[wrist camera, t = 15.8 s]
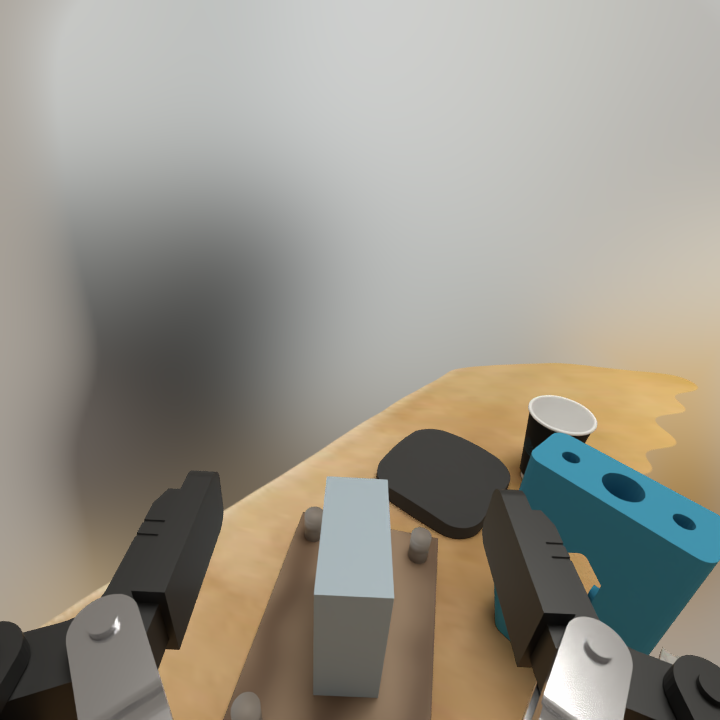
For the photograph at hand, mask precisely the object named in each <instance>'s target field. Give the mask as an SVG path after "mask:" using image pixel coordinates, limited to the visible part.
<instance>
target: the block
mask: <svg viewBox="0 0 720 720" xmlns="http://www.w3.org/2000/svg"><path fill="white" fill-rule="evenodd" d="M519 490H521V491H523V492H524V494H525V495H526V498H527V500H528V502H529V505H530V507H531V509H532V510H541V511H542V512H543V513H544V514H545V515H546V516H547V517H548V518H549V519H550V520H551V522H552V523H553V524H554V525H555V526H556V528H557V530H558V533H559V535H560V537H561V539H562V541H563V546H565V548H566V550H567V552H568V553H581V554H583V555H584V556H585V557H586V558H587V559H588V561H589V563H590V565H591V567H592V569H593V571H594V573H595V575H596V577H597V579H598V581H599V583H600V585H601V587H600V589H599V588H598V587H596V586H595V585H594V586H593V587H592V588H591V590H590V591H589V593H588V597H589V599H590V601H591V604H592V606H593V608H594V610H595V612H596V614H597V616H598V618H599V620H600V621H601V622H603V623H605V624H606V625H607V626H609V627H610V628H611V629H613V630H614V631H615V632H616V633H617V634H618V635H619V636H620V637H621V639H622V640H623V641H624V643H625V644H626V646H628V647H630V648H632V649H634V650H636V651H638V652H641V653H644V654H646V655H649V654H650V653H651V651H652V650H653V649H654V647H655V646H656V645H657V643H658V642H659V640H660V639H661V638H662V637H663V635H664V634H665V632H666V631H667V630H668V629H669V627H670V626H671V624H672V623H673V622H674V621H675V619H676V618H677V616H678V615H679V614H680V612H681V611H682V610H683V608H684V607H685V606H686V604H687V603H688V602H689V600H690V599H691V598H692V596H693V595H694V594H695V592H696V591H697V589H698V588H699V587H700V586H701V584H702V583H703V582H704V580H705V579H706V578H707V576H708V575H709V573H710V572H711V571H712V570H713V568H714V567H715V566H716V564H717V563H718V562H719V560H720V516H719V515H717V514H716V513H714V512H712V511H710V510H708V509H706V508H704V507H702V506H701V505H699V504H697V503H695V502H693V501H691V500H689V499H687V498H686V497H684V496H682V495H680V494H678V493H676V492H674V491H673V490H671V489H669V488H667V487H665V486H663V485H661V484H659V483H658V482H656V481H654V480H652V479H650V478H648V477H646V476H645V475H643V474H641V473H639V472H637V471H635V470H633V469H632V468H630V467H628V466H626V465H624V464H622V463H620V462H619V461H617V460H615V459H613V458H611V457H609V456H607V455H605V454H604V453H602V452H600V451H598V450H596V449H594V448H592V447H591V446H589V445H587V444H585V443H583V442H581V441H579V440H577V439H576V438H574V437H572V436H570V435H568V434H565V433H554V434H552V435H551V436H550V437H548V438H547V439H546V440H545V441H544V442H542V443H541V444H540V445H539V446H537V447H536V448H535V449H534V450H533V451H532V453H531V456H530V459H529V462H528V465H527V468H526V471H525V474H524V477H523V480H522V483H521V486H520V489H519ZM494 594H495V624H496V627H497V629H498V630H499V631H500V632H501V633H502V634H503V635H504V636H505V637H506V638H507V639H508V640H509V641H510V638H509V635H508V631H507V627H506V624H505V620H504V617H503V613H502V609H501V606H500V602H499V599H498V595H497V591H496V588H495V584H494Z"/></svg>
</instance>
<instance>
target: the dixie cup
mask: <svg viewBox="0 0 720 720" xmlns="http://www.w3.org/2000/svg"><path fill="white" fill-rule="evenodd" d="M528 409H529V418H528V424H527V429H526V435H525V441H524V447H523V453H522V458H521V464H520V469H521V477H522V479H523V477H524V474H525V471H526V468H527V465H528V462H529V459H530V456H531V453H532V451H533V450H534V449H535V448H536V447H537V446H539V445H540V444H541V443H542V442H544V441H545V440H546V439H547V438H548V437H550V436H551V435H552V434H554V433H565V434H568V435H570V436H572V437H574V438H576V439H577V440H579V441H581V442H583V443H585V442H586V440H587V438H588V437H589V435H590V433H592V432H594V431H595V429H596V428H597V420H596V418H595V416H594V415H593V414H592V413H591V412H590V411H589V410H588V409H587V408H586V407H584V406H583V405H581V404H579V403H577V402H575V401H573V400H570V399H567V398H564V397H560V396H553V395H544V396H538V397H536V398H534V399H532V400H531V401H530V403H529V406H528Z"/></svg>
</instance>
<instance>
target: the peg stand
mask: <svg viewBox="0 0 720 720" xmlns="http://www.w3.org/2000/svg"><path fill="white" fill-rule="evenodd" d="M322 516H323V510H322V509H321V508H319V507H311V508H309V509H307V510H306V512H303V514H302V516H301V519H300V522H299V524H298V527H297V529H296V532H295V535H294V537H293V540H292V542H291V545H290V548H289V550H288V553H287V555H286V558H285V560H284V563H283V566H282V568H281V571H280V573H279V576H278V579H277V581H276V584H275V586H274V589H273V592H272V594H271V597H270V599H269V602H268V605H267V607H266V610H265V612H264V615H263V618H262V620H261V623H260V625H259V628H258V631H257V633H256V636H255V638H254V641H253V644H252V646H251V649H250V651H249V654H248V657H247V659H246V662H245V664H244V667H243V670H242V672H241V675H240V677H239V680H238V683H237V685H236V688H235V690H234V693H233V696H232V698H231V701H230V703H229V706H228V709H227V711H226V714H225V716H224V719H223V720H431V705H432V680H433V654H434V629H435V603H436V577H437V552H438V538H433V537H431V533H430V532H429V531H428V530H427V529H425V528H422V527H418V528H415V529H414V530H413V531H412V533H407V532H402V531H397V530H392V529H390V531H391V549H392V567H393V585H394V603H393V609H392V615H391V621H390V627H389V633H388V640H387V646H386V652H385V658H384V664H383V670H382V676H381V682H380V688H379V694H378V698H368V697H346V696H324V695H313V637H314V588H315V579H316V570H317V561H318V552H319V543H320V534H321V525H322Z"/></svg>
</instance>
